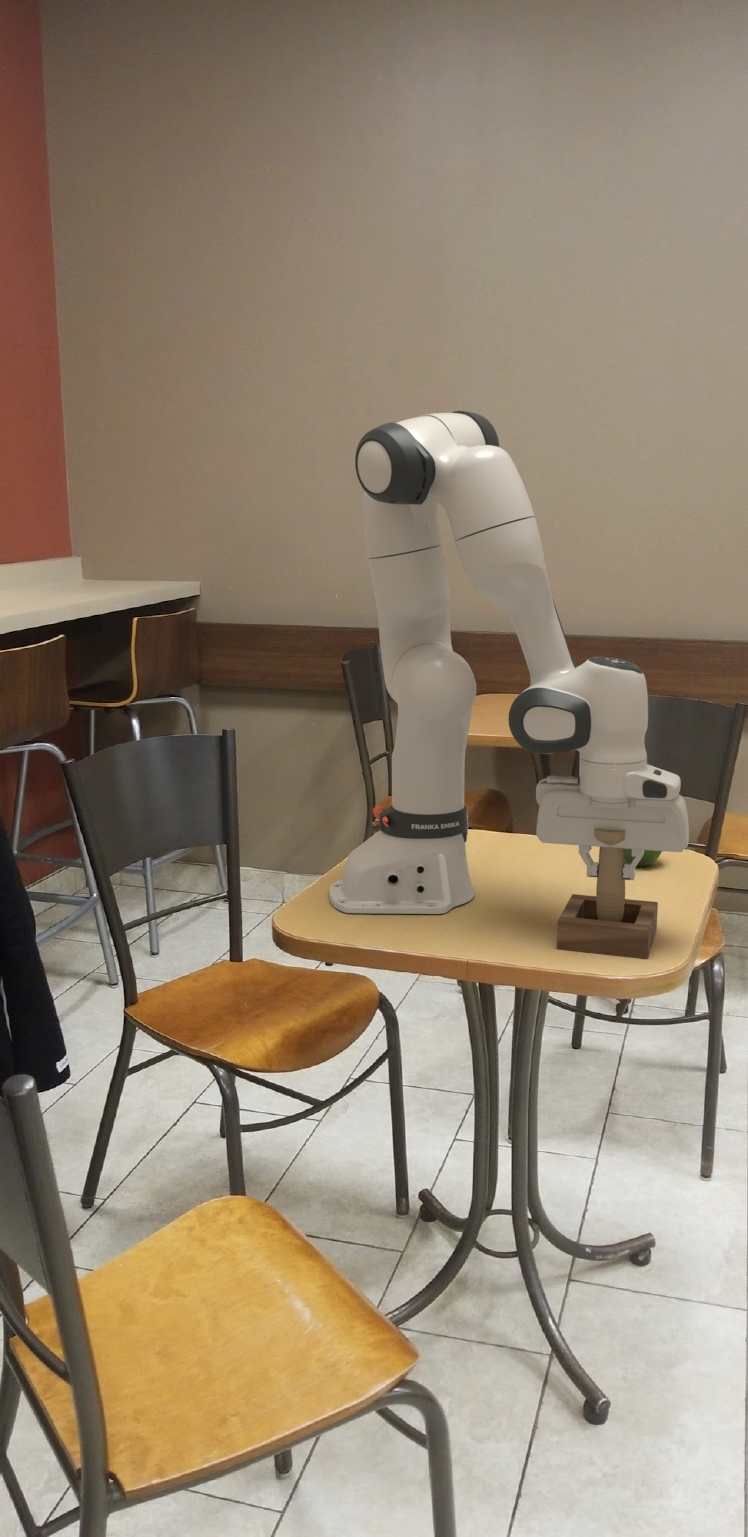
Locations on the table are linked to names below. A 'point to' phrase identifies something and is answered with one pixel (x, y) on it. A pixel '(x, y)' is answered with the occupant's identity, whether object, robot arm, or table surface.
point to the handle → (610, 876)
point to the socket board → (607, 928)
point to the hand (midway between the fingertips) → (610, 877)
